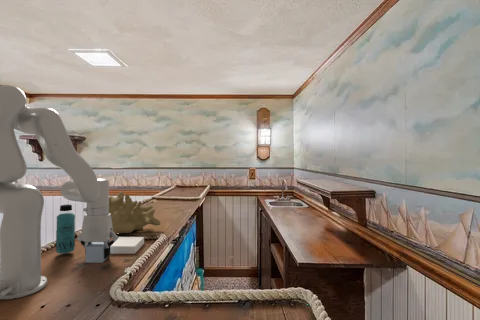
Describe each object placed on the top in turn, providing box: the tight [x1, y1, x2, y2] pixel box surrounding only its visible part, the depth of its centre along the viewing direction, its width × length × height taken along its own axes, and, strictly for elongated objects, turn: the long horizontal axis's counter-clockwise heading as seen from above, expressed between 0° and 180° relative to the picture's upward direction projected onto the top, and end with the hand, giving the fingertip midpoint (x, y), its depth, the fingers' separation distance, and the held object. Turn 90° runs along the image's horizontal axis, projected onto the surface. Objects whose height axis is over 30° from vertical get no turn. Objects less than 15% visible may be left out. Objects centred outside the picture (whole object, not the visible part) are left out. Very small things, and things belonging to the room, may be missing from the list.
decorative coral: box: [109, 190, 161, 234], centre depth 138 cm, size 26×22×25 cm
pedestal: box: [110, 236, 145, 255], centre depth 115 cm, size 12×12×3 cm
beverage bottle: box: [55, 204, 76, 255], centre depth 107 cm, size 6×7×20 cm
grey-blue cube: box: [85, 242, 109, 264], centre depth 103 cm, size 6×6×6 cm
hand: (97, 256), depth 103 cm, fingers closed on grey-blue cube, 6 cm apart
